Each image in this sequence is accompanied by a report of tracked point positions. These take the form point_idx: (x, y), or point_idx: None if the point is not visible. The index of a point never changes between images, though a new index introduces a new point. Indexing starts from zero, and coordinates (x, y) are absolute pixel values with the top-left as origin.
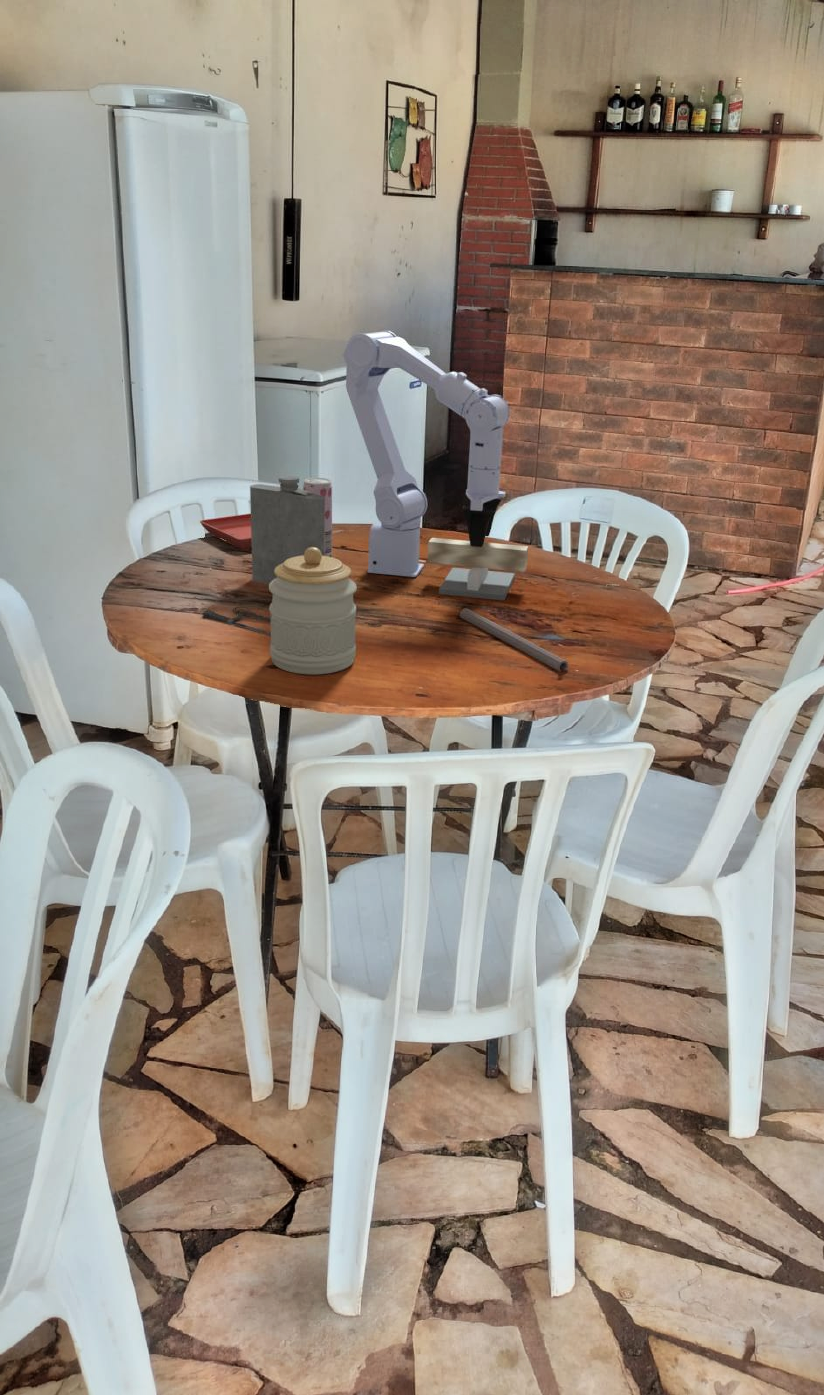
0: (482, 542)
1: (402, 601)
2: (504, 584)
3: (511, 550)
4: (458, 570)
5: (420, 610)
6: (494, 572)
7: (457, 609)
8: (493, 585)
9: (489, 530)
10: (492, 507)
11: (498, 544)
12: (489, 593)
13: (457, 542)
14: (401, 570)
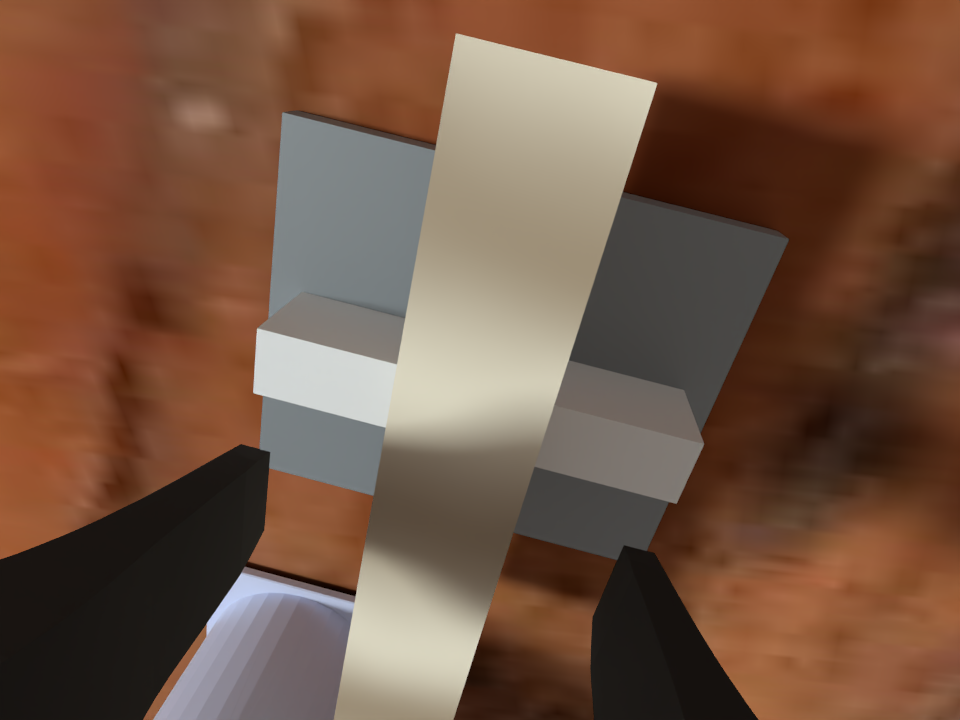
0: (670, 587)
1: (740, 681)
2: None
3: (602, 254)
4: (304, 444)
5: (884, 638)
6: (293, 251)
7: (902, 495)
8: None
9: (238, 480)
10: (32, 694)
11: (429, 366)
12: (742, 330)
13: (421, 650)
14: None
